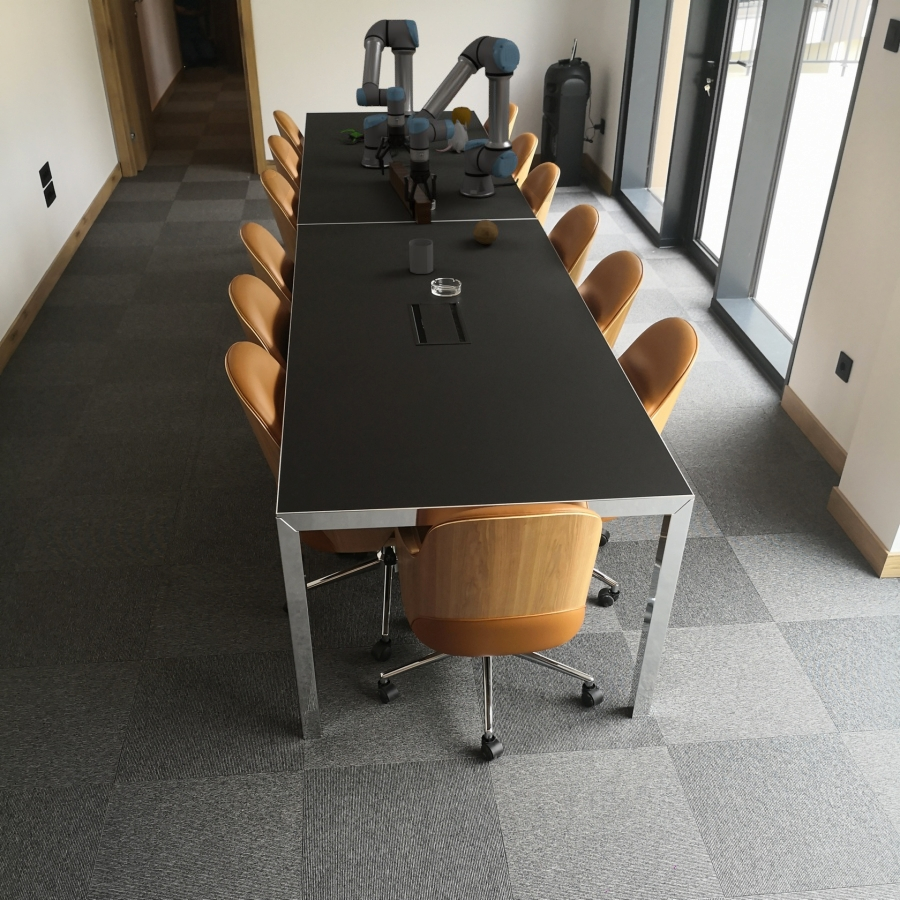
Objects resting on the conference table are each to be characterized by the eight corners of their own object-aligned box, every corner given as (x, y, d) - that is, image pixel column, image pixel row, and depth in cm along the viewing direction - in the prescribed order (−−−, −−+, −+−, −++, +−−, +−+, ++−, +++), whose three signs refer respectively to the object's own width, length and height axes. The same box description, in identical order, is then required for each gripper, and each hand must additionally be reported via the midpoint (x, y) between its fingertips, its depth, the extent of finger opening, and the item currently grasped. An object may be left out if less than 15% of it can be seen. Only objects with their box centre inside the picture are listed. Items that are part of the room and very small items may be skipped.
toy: (473, 150, 452) (473, 120, 444) (442, 158, 438) (441, 127, 430) (460, 147, 458) (460, 117, 449) (429, 155, 443) (428, 125, 435)
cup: (409, 265, 311) (408, 238, 306) (432, 265, 312) (431, 238, 307) (410, 274, 304) (409, 246, 299) (433, 273, 305) (433, 246, 299)
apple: (471, 132, 486) (471, 108, 479) (451, 132, 486) (451, 108, 479) (470, 128, 495) (471, 104, 488) (452, 128, 495) (452, 104, 488)
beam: (389, 181, 404) (388, 162, 400) (400, 180, 405) (400, 161, 401) (417, 224, 351) (417, 203, 347) (431, 223, 352) (430, 202, 348)
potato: (495, 236, 338) (496, 216, 334) (500, 248, 327) (500, 227, 322) (471, 236, 338) (471, 216, 334) (474, 249, 326) (474, 228, 322)
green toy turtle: (394, 125, 469) (339, 123, 467) (394, 140, 462) (338, 138, 460) (394, 135, 474) (339, 133, 472) (394, 150, 467) (338, 148, 464)
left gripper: (369, 127, 379) (371, 177, 390) (425, 125, 384) (426, 174, 395) (367, 124, 385) (369, 173, 396) (421, 122, 390) (422, 170, 401)
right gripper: (398, 163, 340) (400, 221, 353) (444, 160, 344) (444, 218, 356) (395, 158, 346) (396, 216, 359) (440, 156, 350) (440, 212, 362)
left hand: (397, 173), depth 395 cm, fingers open, 13 cm apart
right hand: (420, 217), depth 357 cm, fingers closed on beam, 5 cm apart
